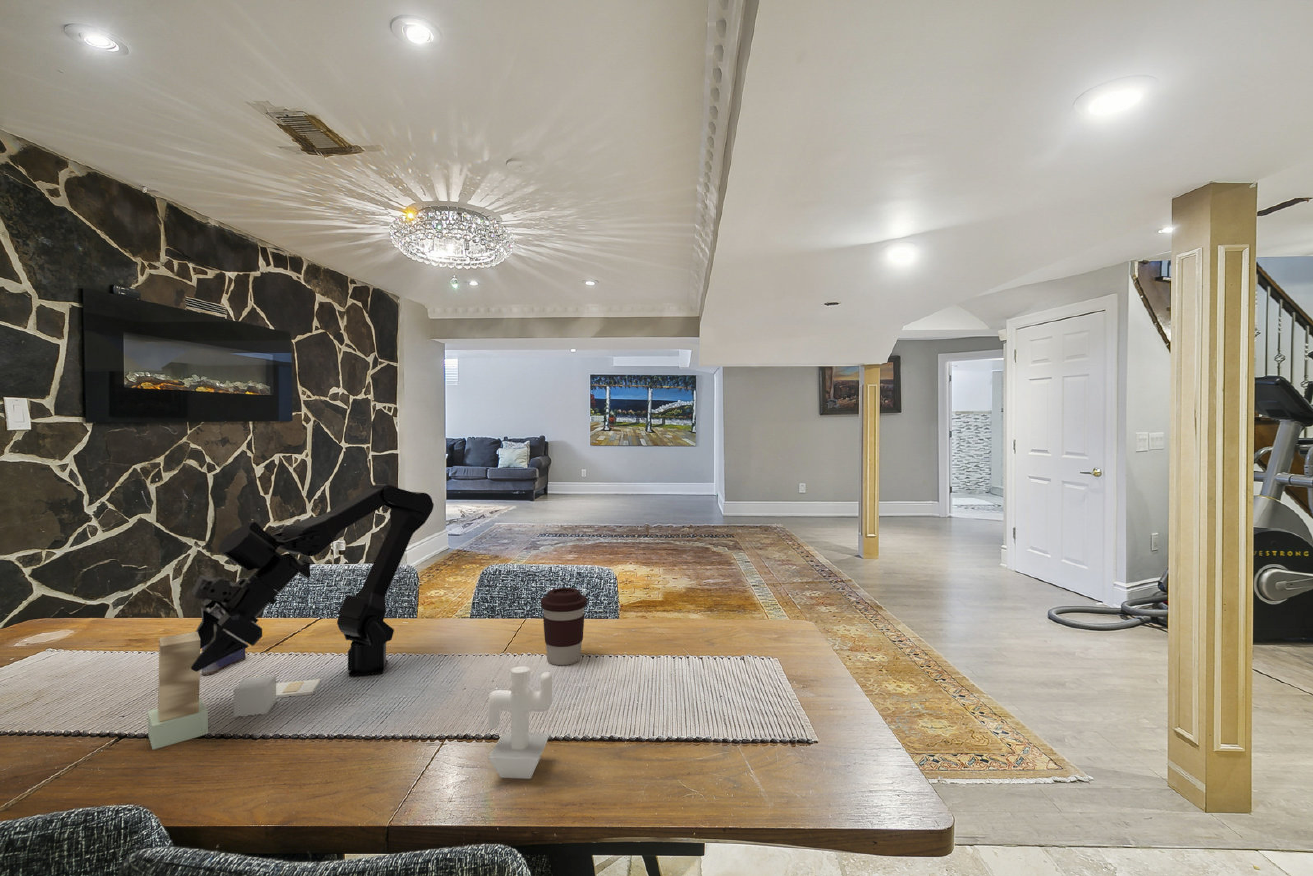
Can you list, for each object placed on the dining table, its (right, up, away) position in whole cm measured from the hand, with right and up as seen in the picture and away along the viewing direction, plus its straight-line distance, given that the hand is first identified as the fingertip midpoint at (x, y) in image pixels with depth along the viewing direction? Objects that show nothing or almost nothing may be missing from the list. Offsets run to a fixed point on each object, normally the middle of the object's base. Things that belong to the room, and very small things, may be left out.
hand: (188, 662), depth 99 cm
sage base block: (-1, -12, -1) cm, 12 cm away
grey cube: (+6, -11, +8) cm, 15 cm away
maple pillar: (-1, -8, -1) cm, 8 cm away
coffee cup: (+58, -11, +31) cm, 66 cm away
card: (+8, -11, +15) cm, 21 cm away
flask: (-14, -11, +27) cm, 32 cm away
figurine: (+58, -12, -11) cm, 60 cm away
